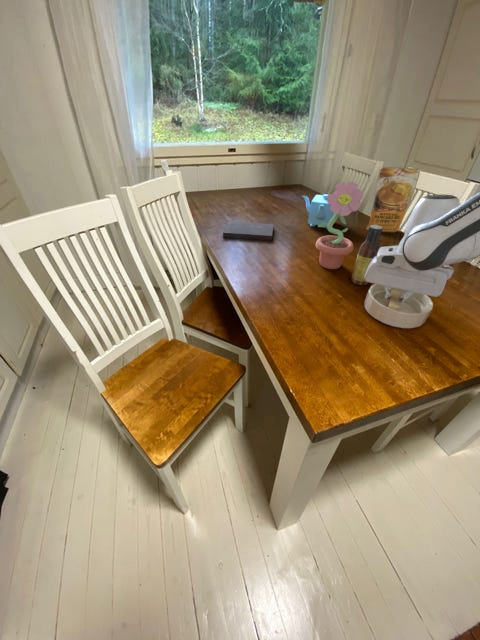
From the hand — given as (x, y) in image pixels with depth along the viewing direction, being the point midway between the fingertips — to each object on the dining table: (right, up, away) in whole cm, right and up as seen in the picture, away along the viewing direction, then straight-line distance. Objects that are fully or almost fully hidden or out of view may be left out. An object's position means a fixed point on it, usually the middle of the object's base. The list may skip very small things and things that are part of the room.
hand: (393, 299), depth 83 cm
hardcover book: (-42, +37, +51) cm, 76 cm away
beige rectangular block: (0, -1, +1) cm, 2 cm away
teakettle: (-4, +44, +61) cm, 76 cm away
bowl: (+1, -3, +2) cm, 4 cm away
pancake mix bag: (+26, +40, +57) cm, 74 cm away
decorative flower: (-11, +16, +26) cm, 33 cm away
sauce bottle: (-3, +8, +16) cm, 18 cm away
